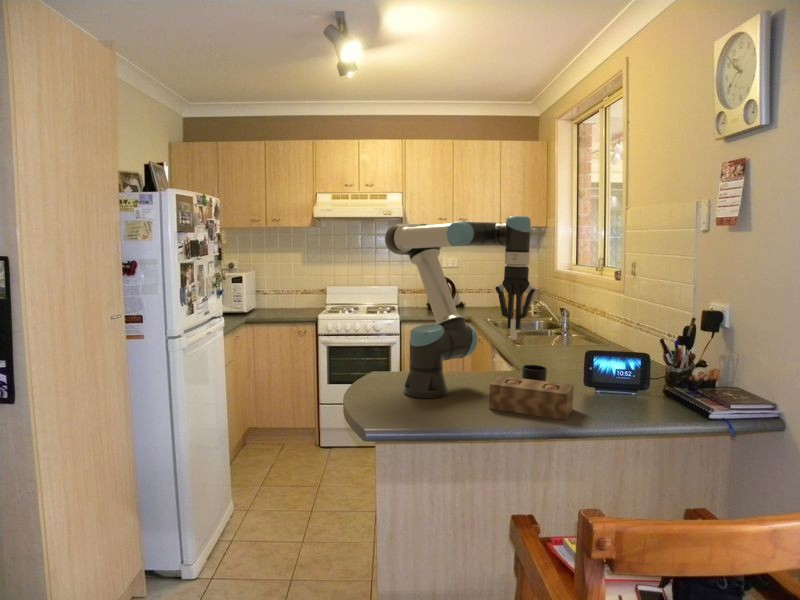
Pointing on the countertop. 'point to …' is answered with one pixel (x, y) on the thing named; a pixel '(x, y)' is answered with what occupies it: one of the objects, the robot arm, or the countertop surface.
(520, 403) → the socket block
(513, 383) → the peg
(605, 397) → the countertop surface
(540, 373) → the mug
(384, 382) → the countertop surface
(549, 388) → the peg
